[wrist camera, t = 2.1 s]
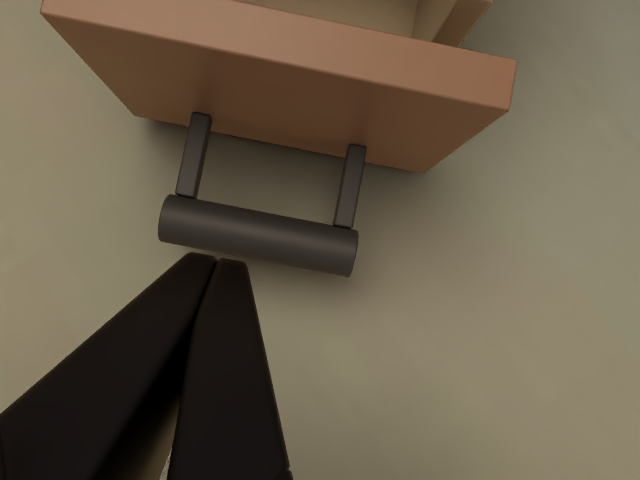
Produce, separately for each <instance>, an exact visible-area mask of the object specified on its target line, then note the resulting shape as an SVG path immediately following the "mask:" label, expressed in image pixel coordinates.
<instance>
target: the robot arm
mask: <svg viewBox="0 0 640 480" xmlns="http://www.w3.org/2000/svg"><path fill="white" fill-rule="evenodd" d="M171 447H172V451H171V457H170V463H169V469H168V475H167V480H293V477H292V472H291V471H290V470H289V467H290V464H289V459H288V455H287V450H286V445H285V441H284V436H283V431H282V427H281V422H280V417H279V413H278V408H277V403H276V399H275V394H274V389H273V384H272V380H271V375H270V370H269V366H268V361H267V356H266V352H265V347H264V342H263V338H262V333H261V328H260V323H259V319H258V314H257V309H256V305H255V300H254V295H253V291H252V286H251V281H250V277H249V272H248V267H247V265H246V263H244V262H242V261H237V260H232V259H226V258H220V259H219V260H218V261H217V259H216V258H215V257H214V256H211V255H205V254H200V253H195V252H190V253H187V254H186V255H184V256H183V257H182V258H181V259H180V260H179V261H178V262H176V263H175V264H174V265H173V266H172V267H171V268H169V269H168V270H167V271H166V272H165V273H164V274H162V275H161V276H160V277H159V278H158V279H157V280H155V281H154V282H153V283H152V284H151V285H150V286H148V287H147V288H146V289H145V290H144V291H143V292H141V293H140V294H139V295H138V296H137V297H136V298H135V299H133V300H132V301H131V302H130V303H129V304H128V305H126V306H125V307H124V308H123V309H122V310H121V311H119V312H118V313H117V314H116V315H115V316H114V317H112V318H111V319H110V320H109V321H108V322H107V323H105V324H104V325H103V326H102V327H101V328H100V329H99V330H97V331H96V332H95V333H94V334H93V335H92V336H90V337H89V338H88V339H87V340H86V341H85V342H83V343H82V344H81V345H80V346H79V347H78V348H76V349H75V350H74V351H73V352H72V353H71V354H69V355H68V356H67V357H66V358H65V359H64V360H62V361H61V362H60V363H59V364H58V365H57V366H55V367H54V368H53V369H52V370H51V371H50V372H49V373H47V374H46V375H45V376H44V377H43V378H42V379H40V380H39V381H38V382H37V383H36V384H35V385H33V386H32V387H31V388H30V389H29V390H28V391H26V392H25V393H24V394H23V395H22V396H21V397H19V398H18V399H17V400H16V401H15V402H14V403H12V404H11V405H10V406H9V407H8V408H7V409H5V410H4V411H3V412H2V413H1V414H0V480H159V478H160V476H161V473H162V470H163V468H164V465H165V463H166V460H167V458H168V455H169V452H170V450H171Z"/></svg>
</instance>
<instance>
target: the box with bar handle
mask: <svg viewBox="0 0 640 480" xmlns="http://www.w3.org/2000/svg"><path fill="white" fill-rule="evenodd" d="M493 1H494V0H42V5H41V9H40V14H41V15H42V16H43V17H44V18H45V19H46V20H47V21H48V22H49V24H50V25H51V26H52V27H53V28H54V29H55V30H56V31H57V32H58V33H59V34H60V35H61V37H62V38H63V39H64V40H65V41H66V42H67V43H68V44H69V45H70V46H71V47H72V48H73V50H74V51H75V52H76V53H77V54H78V55H79V56H80V57H81V58H82V59H83V60H84V62H85V63H86V64H87V65H88V66H89V67H90V68H91V69H92V70H93V71H94V72H95V73H96V75H97V76H98V77H99V78H100V79H101V80H102V81H103V82H104V83H105V84H106V85H107V86H108V88H109V89H110V90H111V91H112V92H113V93H114V94H115V95H116V96H117V97H118V98H119V99H120V101H121V102H122V103H123V104H124V105H125V106H126V107H127V108H128V109H129V110H130V111H131V112H132V114H133V115H135V116H139V117H144V118H149V119H154V120H159V121H164V122H169V123H174V124H179V125H184V126H189V128H188V133H187V138H186V143H185V147H184V152H183V157H182V162H181V167H180V171H179V176H178V181H177V186H176V191H175V193H176V194H177V195H178V196H177V195H172V194H169V195H168V196H167V197H166V199H165V201H164V203H163V206H162V209H161V213H160V218H159V224H158V237H159V240H160V241H161V242H166V243H172V244H177V245H182V246H188V247H193V248H198V249H203V250H209V251H214V252H219V253H224V254H230V255H235V256H240V257H246V258H251V259H256V260H261V261H267V262H272V263H277V264H283V265H288V266H293V267H298V268H304V269H309V270H314V271H319V272H325V273H330V274H335V275H341V276H346V277H349V276H350V274H351V272H352V269H353V265H354V261H355V257H356V251H357V245H358V231H357V230H353V229H351V228H352V227H353V223H354V217H355V212H356V207H357V201H358V196H359V190H360V185H361V179H362V174H363V169H364V163H365V162H368V163H373V164H378V165H383V166H388V167H393V168H398V169H403V170H408V171H413V172H418V173H425V172H426V171H428V170H429V169H430V168H432V167H433V166H434V165H436V164H437V163H438V162H440V161H441V160H443V159H444V158H445V157H447V156H448V155H449V154H451V153H452V152H453V151H455V150H456V149H457V148H459V147H460V146H462V145H463V144H464V143H466V142H467V141H468V140H470V139H471V138H472V137H474V136H475V135H476V134H478V133H479V132H481V131H482V130H483V129H485V128H486V127H487V126H489V125H490V124H491V123H493V122H494V121H496V120H497V119H498V118H500V117H501V116H502V115H504V114H505V113H506V112H508V111H509V109H510V104H511V98H512V92H513V86H514V80H515V74H516V68H517V60H514V59H509V58H504V57H500V56H495V55H490V54H486V53H481V52H476V51H471V50H467V49H462V48H458V47H459V45H460V44H461V43H462V42H463V40H464V39H465V38H466V36H467V35H468V34H469V32H470V31H471V30H472V28H473V27H474V26H475V24H476V23H477V22H478V21H479V19H480V18H481V17H482V15H483V14H484V13H485V11H486V10H487V9H488V7H489V6H490V5H491V4H492V2H493ZM210 131H214V132H219V133H224V134H229V135H234V136H239V137H244V138H249V139H254V140H259V141H264V142H269V143H274V144H279V145H284V146H289V147H294V148H299V149H303V150H308V151H313V152H318V153H323V154H328V155H333V156H338V157H343V158H345V162H344V167H343V172H342V178H341V183H340V188H339V194H338V199H337V204H336V210H335V215H334V220H333V226H332V225H327V224H322V223H317V222H312V221H306V220H301V219H296V218H291V217H286V216H281V215H275V214H270V213H265V212H260V211H255V210H250V209H245V208H239V207H234V206H229V205H224V204H219V203H214V202H208V201H203V200H198V199H196V198H197V194H198V189H199V184H200V179H201V174H202V170H203V165H204V160H205V155H206V150H207V145H208V140H209V136H210Z"/></svg>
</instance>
